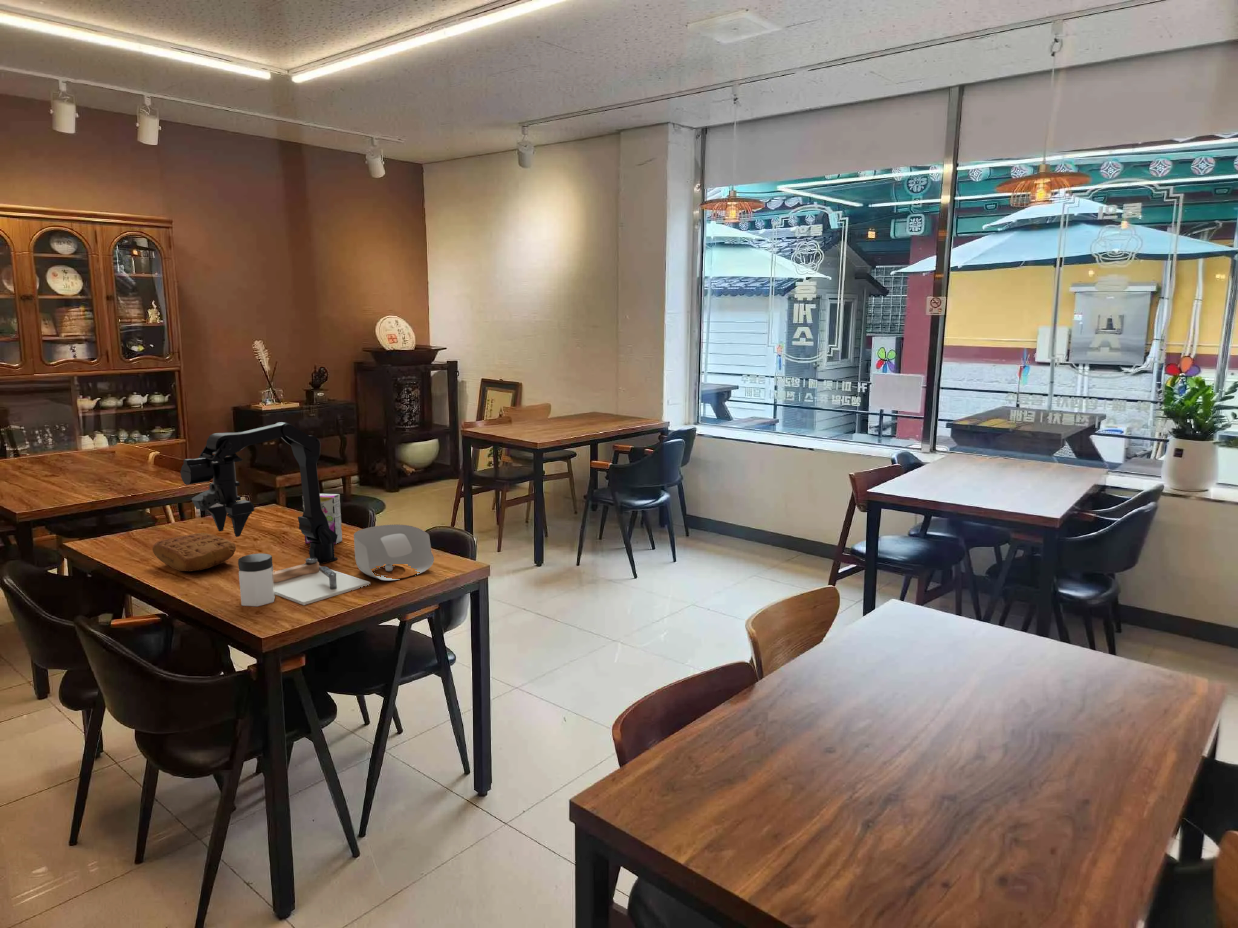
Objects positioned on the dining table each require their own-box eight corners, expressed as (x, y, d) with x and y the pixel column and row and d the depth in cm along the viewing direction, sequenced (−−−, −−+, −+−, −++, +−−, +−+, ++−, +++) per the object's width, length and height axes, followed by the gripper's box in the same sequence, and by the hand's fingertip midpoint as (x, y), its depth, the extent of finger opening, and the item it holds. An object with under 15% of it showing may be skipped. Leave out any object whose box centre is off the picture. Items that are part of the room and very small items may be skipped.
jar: (267, 593, 215) (264, 551, 213) (282, 600, 210) (279, 556, 208) (234, 601, 209) (230, 558, 207) (248, 609, 203) (245, 564, 201)
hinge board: (317, 567, 238) (317, 564, 238) (370, 584, 223) (370, 581, 223) (251, 585, 222) (251, 582, 222) (303, 605, 207) (303, 602, 206)
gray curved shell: (403, 557, 249) (401, 521, 247) (436, 571, 235) (434, 532, 233) (343, 571, 235) (340, 532, 233) (374, 586, 222) (371, 546, 219)
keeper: (315, 569, 233) (314, 556, 233) (342, 587, 218) (341, 573, 217) (304, 571, 231) (303, 558, 231) (330, 590, 216) (329, 575, 215)
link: (314, 568, 234) (313, 560, 233) (322, 570, 232) (321, 562, 231) (258, 583, 220) (258, 574, 220) (266, 585, 218) (265, 577, 218)
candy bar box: (304, 543, 263) (301, 495, 260) (311, 539, 268) (308, 492, 265) (336, 544, 262) (333, 496, 259) (343, 540, 267) (340, 493, 264)
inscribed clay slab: (150, 565, 239) (147, 539, 238) (206, 552, 253) (204, 528, 252) (186, 579, 227) (183, 552, 225) (243, 565, 240) (241, 539, 239)
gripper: (178, 479, 216) (183, 534, 219) (211, 488, 206) (217, 546, 208) (218, 473, 225) (223, 526, 228) (253, 481, 214) (257, 537, 217)
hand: (229, 533), depth 220 cm, fingers open, 9 cm apart
